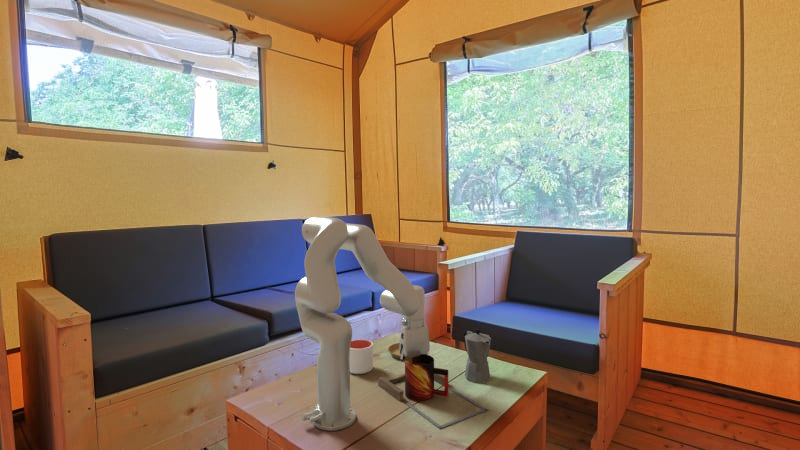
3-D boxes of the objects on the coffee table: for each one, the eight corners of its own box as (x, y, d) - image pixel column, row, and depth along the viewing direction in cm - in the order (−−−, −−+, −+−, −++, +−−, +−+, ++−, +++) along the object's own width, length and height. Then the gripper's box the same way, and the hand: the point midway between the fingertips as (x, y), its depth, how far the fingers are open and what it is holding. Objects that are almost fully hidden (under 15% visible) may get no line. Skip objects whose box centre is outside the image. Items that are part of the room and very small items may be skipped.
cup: (378, 368, 163) (378, 342, 162) (362, 377, 155) (362, 351, 154) (357, 362, 169) (357, 337, 168) (341, 371, 160) (340, 345, 159)
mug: (448, 400, 137) (449, 364, 136) (406, 402, 137) (405, 365, 136) (444, 387, 147) (444, 353, 146) (404, 388, 146) (404, 354, 145)
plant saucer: (430, 356, 175) (430, 349, 175) (402, 364, 167) (402, 358, 166) (408, 345, 187) (408, 339, 187) (380, 353, 178) (380, 347, 178)
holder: (399, 401, 137) (399, 392, 137) (378, 385, 148) (378, 377, 148) (447, 385, 148) (447, 377, 148) (424, 371, 159) (424, 364, 159)
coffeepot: (499, 382, 150) (500, 332, 149) (477, 387, 146) (478, 336, 145) (473, 366, 164) (473, 320, 163) (453, 371, 160) (453, 324, 159)
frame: (439, 429, 121) (439, 428, 121) (405, 404, 135) (405, 403, 135) (487, 410, 131) (487, 409, 131) (451, 388, 146) (451, 387, 146)
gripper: (402, 329, 139) (402, 383, 141) (437, 320, 147) (438, 372, 149) (389, 323, 145) (390, 375, 147) (424, 315, 153) (424, 365, 155)
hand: (414, 373), depth 148 cm, fingers closed
